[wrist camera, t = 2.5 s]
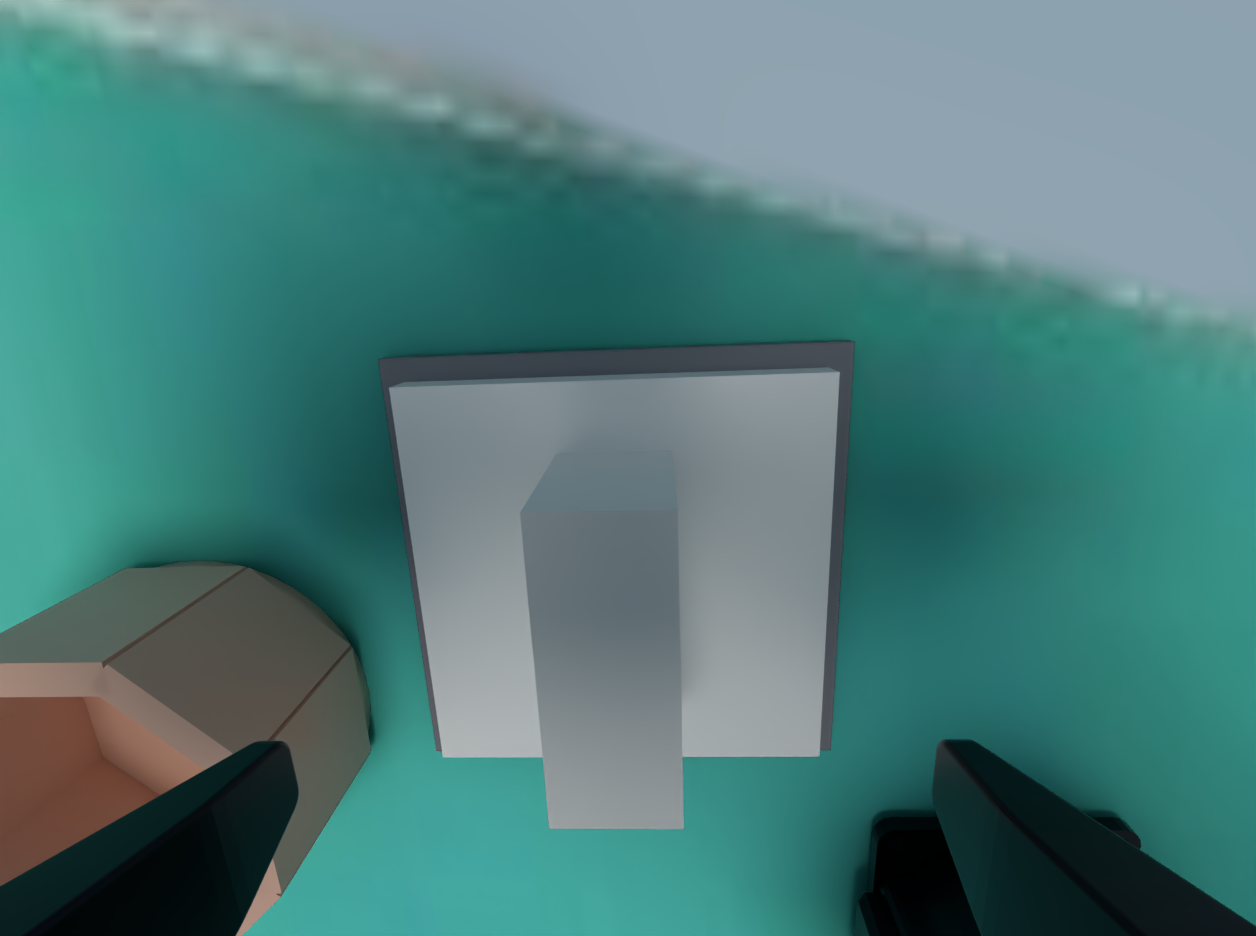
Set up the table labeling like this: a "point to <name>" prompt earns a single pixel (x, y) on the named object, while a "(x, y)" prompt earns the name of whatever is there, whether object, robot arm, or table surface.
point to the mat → (647, 362)
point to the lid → (623, 573)
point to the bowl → (172, 705)
